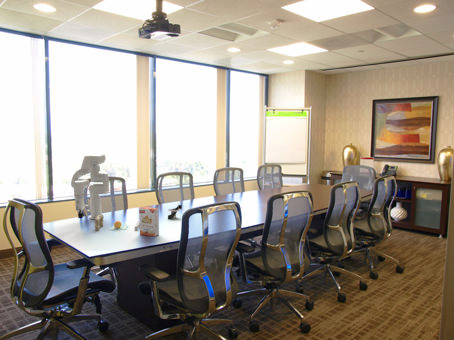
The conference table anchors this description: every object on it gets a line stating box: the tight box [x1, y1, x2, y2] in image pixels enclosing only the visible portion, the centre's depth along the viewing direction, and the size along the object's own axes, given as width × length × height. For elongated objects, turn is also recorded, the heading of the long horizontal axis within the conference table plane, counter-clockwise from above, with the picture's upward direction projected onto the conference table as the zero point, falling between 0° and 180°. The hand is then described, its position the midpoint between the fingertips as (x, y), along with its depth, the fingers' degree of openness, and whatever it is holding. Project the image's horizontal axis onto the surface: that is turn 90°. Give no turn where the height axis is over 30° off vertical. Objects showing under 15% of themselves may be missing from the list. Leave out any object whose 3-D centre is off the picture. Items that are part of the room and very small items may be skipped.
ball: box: [113, 220, 122, 228], centre depth 300 cm, size 6×6×6 cm
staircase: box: [167, 204, 183, 220], centre depth 336 cm, size 9×10×12 cm
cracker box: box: [138, 206, 160, 237], centre depth 279 cm, size 14×6×21 cm, turn 66°
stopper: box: [134, 220, 140, 231], centre depth 303 cm, size 20×2×3 cm, turn 6°
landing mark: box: [109, 224, 129, 231], centre depth 302 cm, size 13×13×1 cm
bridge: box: [94, 214, 104, 232], centre depth 300 cm, size 3×15×10 cm, turn 6°
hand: (80, 217), depth 299 cm, fingers closed
